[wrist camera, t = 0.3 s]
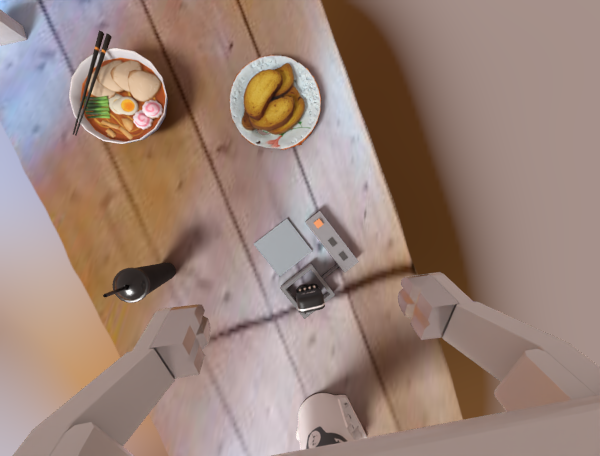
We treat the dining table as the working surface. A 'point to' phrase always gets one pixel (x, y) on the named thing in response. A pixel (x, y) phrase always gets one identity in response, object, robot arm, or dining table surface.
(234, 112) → the food on plate
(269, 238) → the slate mat
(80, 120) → the ramen bowl
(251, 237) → the dining table surface
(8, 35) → the white milk carton
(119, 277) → the drinking cup
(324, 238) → the charging station
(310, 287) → the battery charger
